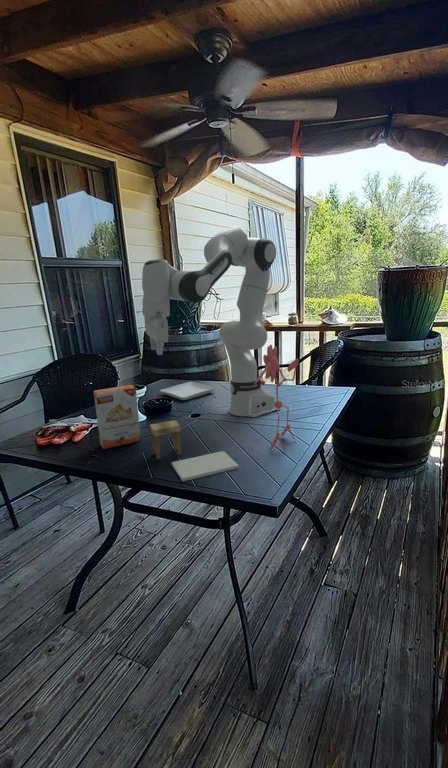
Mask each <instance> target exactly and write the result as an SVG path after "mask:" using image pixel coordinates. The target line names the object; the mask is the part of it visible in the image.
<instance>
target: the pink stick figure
mask: <svg viewBox="0 0 448 768" xmlns="http://www.w3.org/2000/svg"><path fill="white" fill-rule="evenodd" d="M266 350H267V351H266V354H264V355H263V362H264V365H265V366H264V369H263V370H262V372H261V373H260V374H259V375H258V376H257V380H256V382H255V383H254V384H256V383H257V382H258V381H259V380H262V379H261V378H263V376H264V375H265V377H264V378H265V380H268V379H270V382H271V383H273V382H274V381H275V382H276V386H275V391H276V392H275V393H276V396H275V397H276V401H275V404H274V405H275V407H276V410H277V411H276V413H277V417H278V418H277V426H276V427H277V430H276V435H275V437H274V438H273V440H272V442H271V445H270V447H269V451H271V450H272V449H274V447H276V444H277V442H278V441H279V443H280V445H281V446H282V447H281V448H282V449H283V450H286V451H287V449H286V447H285V445H284V443H283V442H282V440H281V436H282V437H283V436H284V435H285V434H286V433H287V431H288V432H289V434H290V435H291V437H292V439H295V440H296V438H295V437H294V435H293V432H292V430H291V429H290V427H291V423H289V411H290V410H289V409H290V408H289V407H288V406H286V405H284V404H283V402H282V401H281V400H279V399H278V398H279V396H278V395H279V387H280V386H281V385H282V384H283V383H284V382H287V381H289V382H295V378H296V372H297V367H298V364H299V361H300V360H299V358H296V359H295V360H293V361H291V362H290V363H289V365H288V366H287V368H286V370H287V372H288V373H290V372H291V371H293V370H294V371H293V375H292V379H291V378H286V377H285V376H284V374H283V372H282V370H281V368H280V366H281V365H280V362H279V359H278V347H277V346H274V347H273V345H272V344H269V345H268V346H267V349H266ZM277 371H278V372H279V373H280V375H281V377H282V380H281V381H280V382H279V381H278V379H277ZM283 407H285V408H287V411H286V412H287V413H286V426H285V428H284V429H283V431H282V432H281V433H280V432H279V427H280V425H279V424H280V414H279V410H278V409H279V408H280V409H281V408H283ZM277 408H278V409H277Z"/></svg>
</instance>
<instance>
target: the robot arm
mask: <svg viewBox="0 0 448 768" xmlns="http://www.w3.org/2000/svg"><path fill="white" fill-rule="evenodd" d="M276 255H277V249H276V245H275V243H274V241H272V240H271V239H269V238H265V237H262V238H259V237H248V235H247V232H246V230H245V229H243V228H242V227H241V226H238V225H234V226H233V225H232V226H229V227H227V228H226V229H224V230H222V231H220V232H218V233H217V234H216V235H214V236H213V237H212V238H210V239H209V240H208V241H207V243H206V244H205V245H204V248H203V257H204V259H205V261H206V263H207V264H206V265H205V266H203V268H201V269H199V270H191V271H190V270H179V269H177V268H175V267H173V266H172V265H171V264H170V263H169V262H168V260H167V259H163V258H162V259H161V258H160V259H158V258H157V259H150V260H147V261H146V262H144V264H143V266H142V267H143V268H142V276H141V289H142V294H143V296H142V309H141V310H142V316H143V318H144V328H145V334H146V335H147V336H148V337H149V343H150V349H151V350H152V351H155V350H156V351H155V352H156V355H158V356H162V355H163V352H164V347H165V343H168V342H169V324H168V323H169V322H168V319H167V317H170V315H171V312H170V308H171V307H170V305H171V303H170V301H171V300H174V301H181V302H182V301H184V302H189V303H192V304H199V303H201V302H203V301H204V300H205V299H206V298H207V296H208V295H209V292H210V291H211V289H212V288H213V287H214V285H216V283H217V282H218V281H219V279H221V278H222V276H223V275H224V274H225V273H226V272H227V271H228V270H229V269H230V267H231V266H234V267H242V268H245V273H244V276H243V279H242V282H241V286H240V289H239V294H238V297H237V300H236V306H237V308H238V311H239V320H231V321H227V322H225V323H223V324H221V327H220V328H219V331H218V332H219V334H218V336H219V338H220V340H221V342H222V343H223V345H224V347H225V349H226V353H227V356H228V361H229V364H230V377H231V379H230V393H231V397H230V399H231V400H230V406H229V411H228V412H229V413H230V414H231V415H233V416H238V417H250V418H257V417H260V415H261V416H263V415H262V414H264V415H266V414H265V413H268V414H270V413H269V412H271V413H273V412H272V411H274V410H276V407H275V405H274V404H275V402H276V401H275V396H274V395H273V394H272V392H270V391H268V390H266V388H264V387H262V386H265V384H266V381H265V380H263V379H260V380H259V381H258V382H257V383H256V384H254V383H255V382H256V380H257V378H258V368H257V360H256V358H255V357H254V356H253V354H252V352H251V350H259V349H261V348H263V347H264V346H265V345H266V344H267V341H268V332H267V330H266V327H265V325H264V317H263V311H264V307H265V303H266V299H267V298H266V297H267V293H268V289H269V286H270V279H271V278H270V275H271V271H270V268H271V267H272V265H273V263H274V262H275V259H276ZM277 409H278V408H277ZM279 409H280V410H281V408H279Z"/></svg>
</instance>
